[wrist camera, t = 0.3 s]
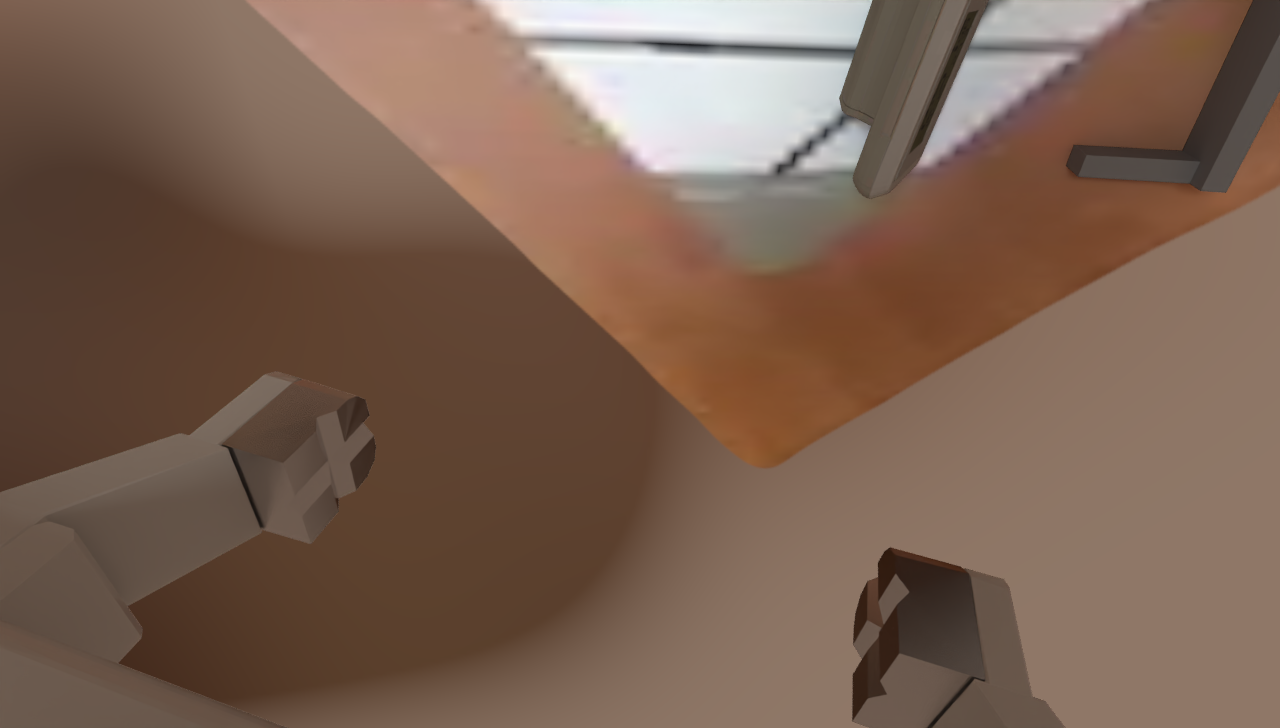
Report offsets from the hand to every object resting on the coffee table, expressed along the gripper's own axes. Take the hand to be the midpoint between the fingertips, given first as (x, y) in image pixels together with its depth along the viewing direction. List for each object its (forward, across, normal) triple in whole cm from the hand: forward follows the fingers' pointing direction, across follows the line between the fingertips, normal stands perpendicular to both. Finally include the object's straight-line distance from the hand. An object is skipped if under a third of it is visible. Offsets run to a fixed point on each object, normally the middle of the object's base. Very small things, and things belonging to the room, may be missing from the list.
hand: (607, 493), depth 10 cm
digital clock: (+47, -8, +1) cm, 47 cm away
